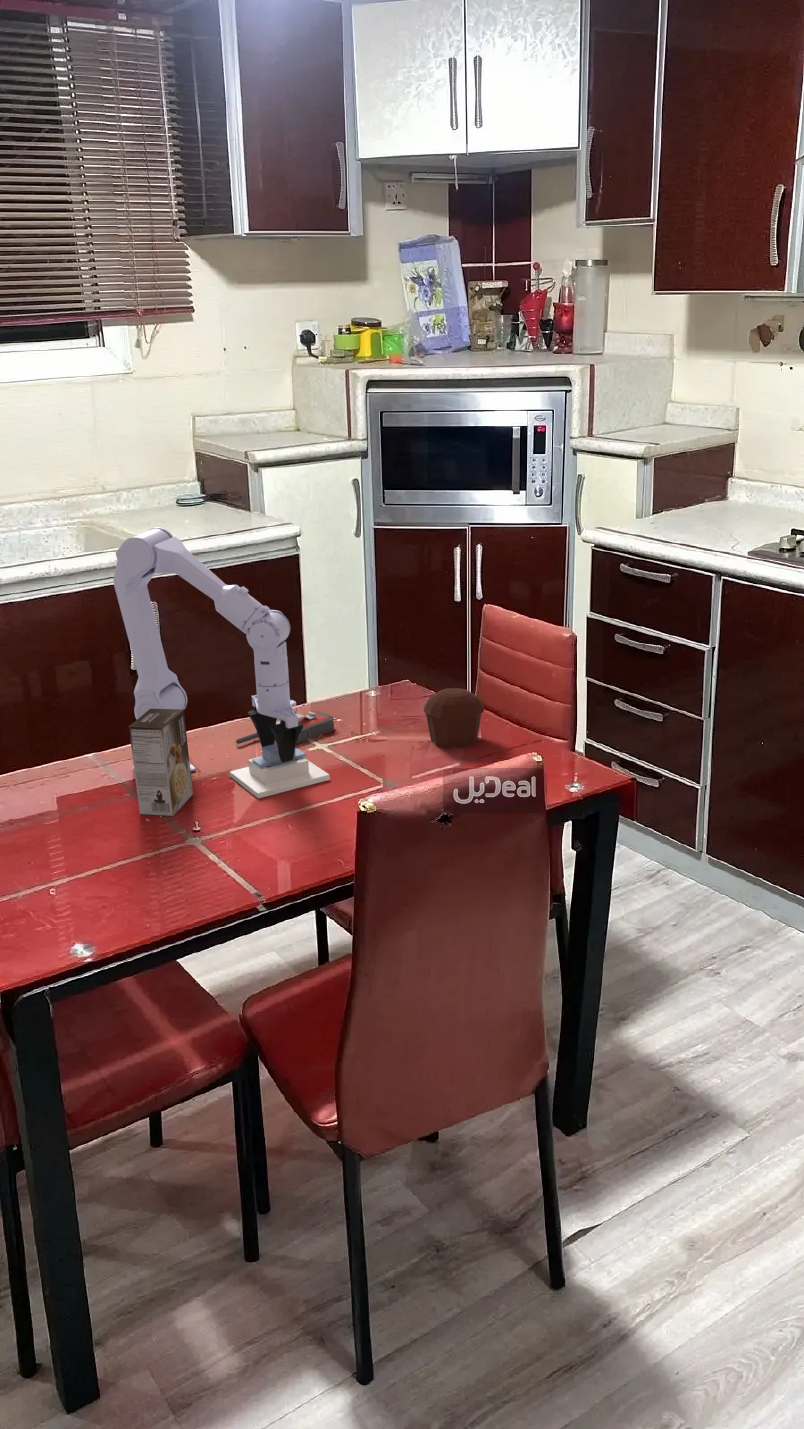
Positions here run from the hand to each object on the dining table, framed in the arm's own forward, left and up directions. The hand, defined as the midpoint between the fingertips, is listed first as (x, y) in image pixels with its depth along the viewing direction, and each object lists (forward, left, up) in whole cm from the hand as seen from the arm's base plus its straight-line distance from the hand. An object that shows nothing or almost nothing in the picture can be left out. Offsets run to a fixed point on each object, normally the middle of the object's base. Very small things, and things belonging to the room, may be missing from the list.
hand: (277, 754), depth 207 cm
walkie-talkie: (+11, +18, -5) cm, 22 cm away
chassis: (0, 0, -5) cm, 5 cm away
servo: (0, 0, -4) cm, 4 cm away
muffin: (+36, -3, -5) cm, 36 cm away
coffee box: (-21, +1, -5) cm, 21 cm away
